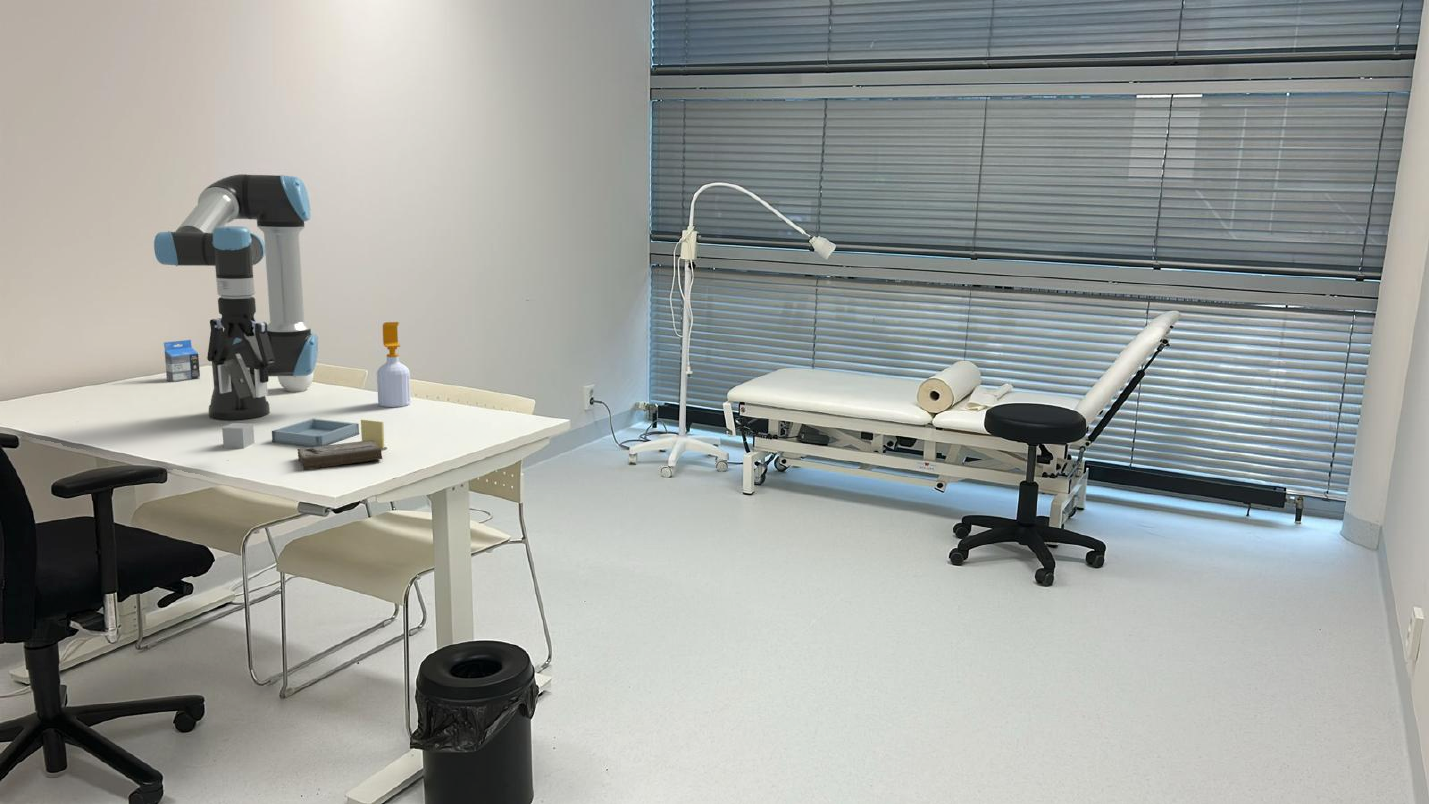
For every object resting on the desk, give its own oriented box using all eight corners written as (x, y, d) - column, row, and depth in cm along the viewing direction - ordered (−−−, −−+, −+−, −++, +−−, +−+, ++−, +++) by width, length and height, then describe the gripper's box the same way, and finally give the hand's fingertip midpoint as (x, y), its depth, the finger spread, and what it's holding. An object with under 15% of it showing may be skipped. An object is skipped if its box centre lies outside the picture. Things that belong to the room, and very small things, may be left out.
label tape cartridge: (173, 382, 305) (169, 343, 303) (166, 380, 307) (163, 342, 305) (200, 378, 313) (197, 340, 310) (194, 376, 315) (190, 339, 312)
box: (383, 461, 224) (382, 448, 224) (303, 471, 216) (301, 458, 216) (375, 451, 234) (374, 439, 233) (298, 460, 226) (296, 447, 225)
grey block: (223, 447, 233) (222, 427, 232) (234, 442, 238) (233, 422, 237) (243, 448, 233) (242, 428, 232) (254, 443, 238) (253, 423, 237)
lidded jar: (270, 389, 299) (268, 360, 297) (302, 385, 307) (300, 356, 305) (290, 394, 293) (288, 364, 291) (322, 389, 301) (320, 360, 299)
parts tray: (272, 442, 239) (271, 431, 238) (313, 428, 253) (313, 418, 253) (319, 447, 235) (319, 436, 235) (359, 434, 249) (358, 423, 249)
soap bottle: (381, 408, 278) (377, 324, 273) (376, 402, 286) (372, 319, 281) (413, 406, 282) (410, 322, 277) (407, 400, 290) (404, 318, 285)
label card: (359, 448, 236) (358, 420, 234) (365, 446, 238) (364, 418, 236) (380, 451, 234) (379, 423, 232) (386, 448, 236) (385, 420, 235)
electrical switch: (258, 398, 218) (250, 358, 216) (233, 402, 216) (225, 362, 214) (254, 390, 226) (247, 351, 224) (230, 394, 224) (222, 355, 221)
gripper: (183, 295, 216) (191, 393, 220) (264, 301, 209) (271, 402, 214) (209, 292, 223) (217, 387, 227) (289, 297, 216) (295, 395, 221)
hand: (243, 394), depth 221 cm, fingers closed on electrical switch, 9 cm apart
